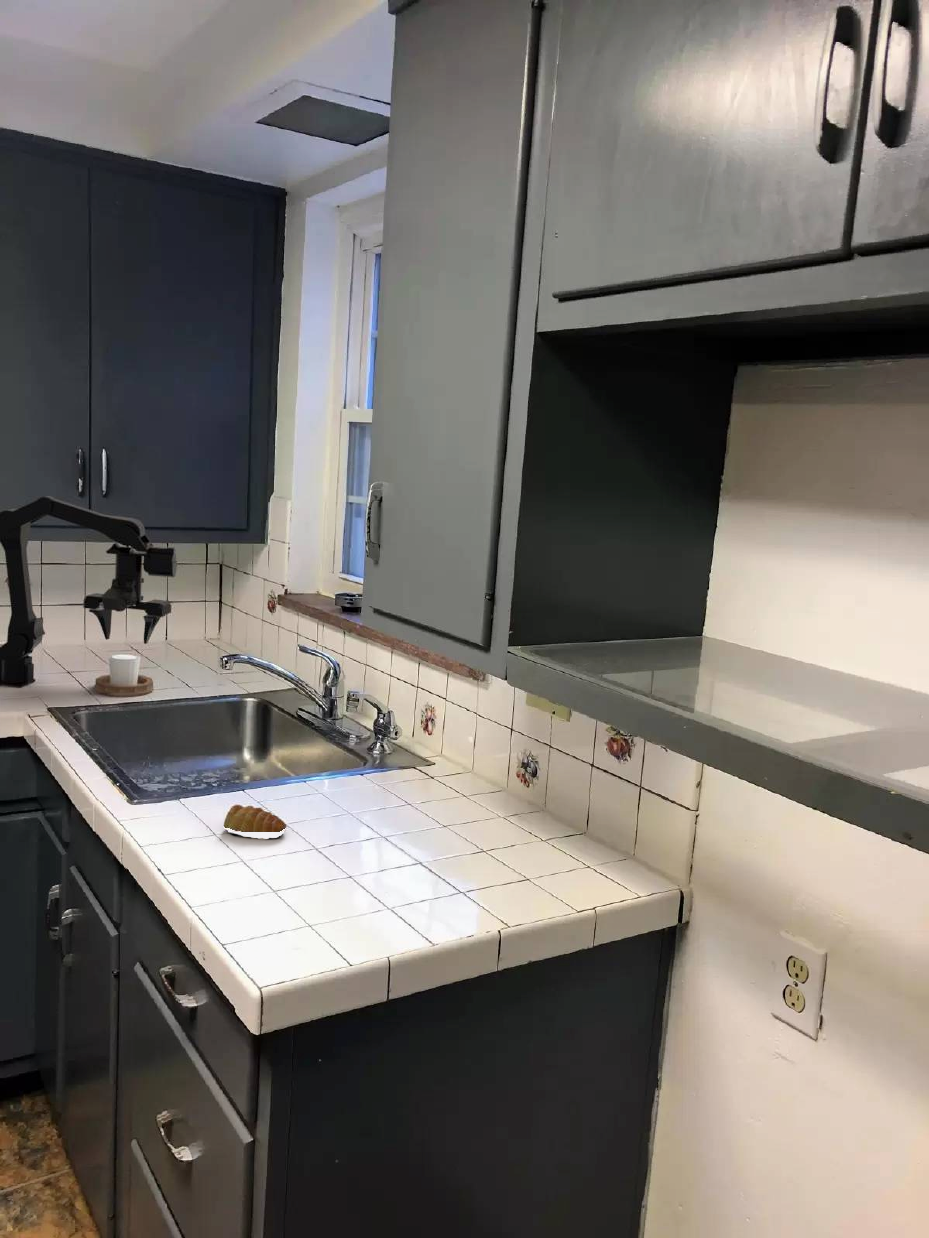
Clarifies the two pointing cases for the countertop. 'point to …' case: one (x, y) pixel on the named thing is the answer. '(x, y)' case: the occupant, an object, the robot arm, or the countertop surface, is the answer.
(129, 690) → the round wooden tray
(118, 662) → the white canister
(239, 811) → the pastry
